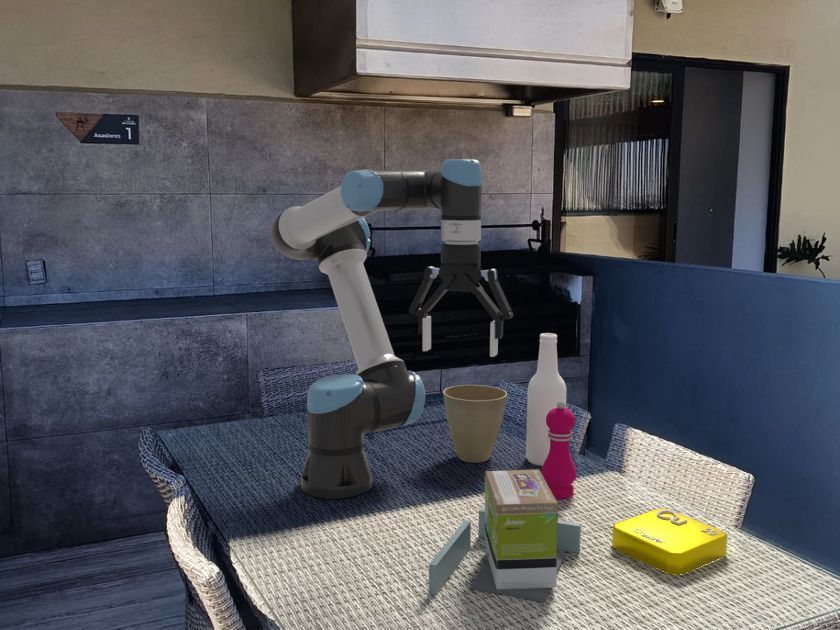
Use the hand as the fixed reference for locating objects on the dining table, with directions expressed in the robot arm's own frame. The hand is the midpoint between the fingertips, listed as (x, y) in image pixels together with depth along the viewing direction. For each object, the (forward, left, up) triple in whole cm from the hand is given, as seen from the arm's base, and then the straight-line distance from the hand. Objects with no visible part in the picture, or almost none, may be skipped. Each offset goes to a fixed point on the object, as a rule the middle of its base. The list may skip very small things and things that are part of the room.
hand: (459, 352), depth 158 cm
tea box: (+18, -22, -31) cm, 42 cm away
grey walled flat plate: (+16, -22, -32) cm, 42 cm away
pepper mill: (+17, +15, -32) cm, 39 cm away
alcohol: (+10, +34, -32) cm, 48 cm away
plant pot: (-6, +30, -32) cm, 44 cm away
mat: (+18, -22, -32) cm, 42 cm away
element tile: (+41, -4, -32) cm, 52 cm away
